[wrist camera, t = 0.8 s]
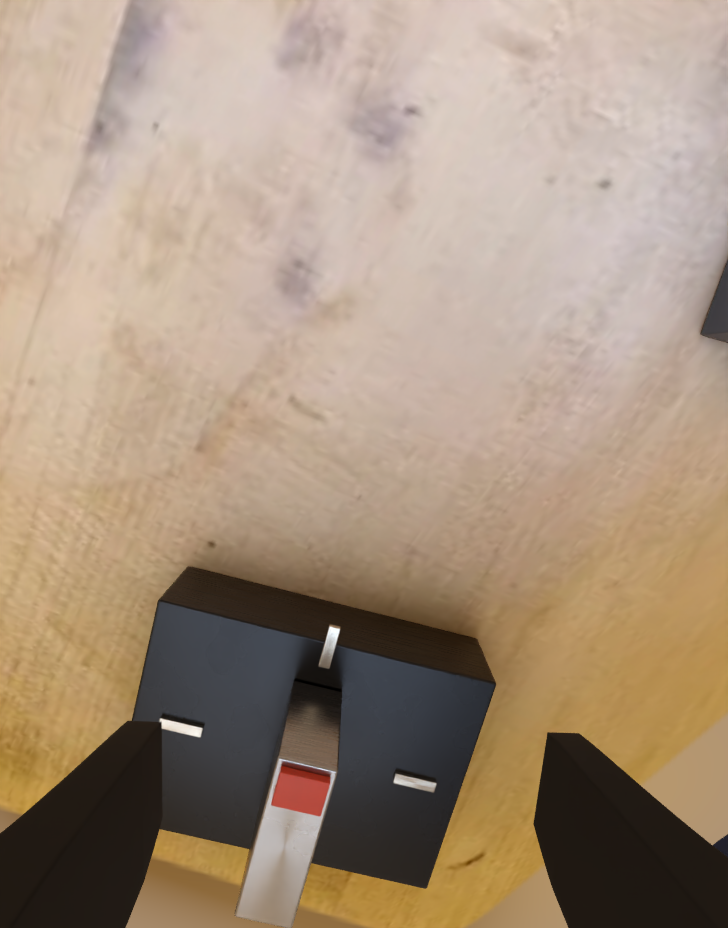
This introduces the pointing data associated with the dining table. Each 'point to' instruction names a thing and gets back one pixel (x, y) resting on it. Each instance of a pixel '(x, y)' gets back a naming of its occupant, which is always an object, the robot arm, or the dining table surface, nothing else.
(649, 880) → the robot arm
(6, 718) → the dining table surface
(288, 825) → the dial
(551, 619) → the dining table surface
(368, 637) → the control panel
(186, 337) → the dining table surface
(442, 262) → the dining table surface
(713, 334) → the button block
